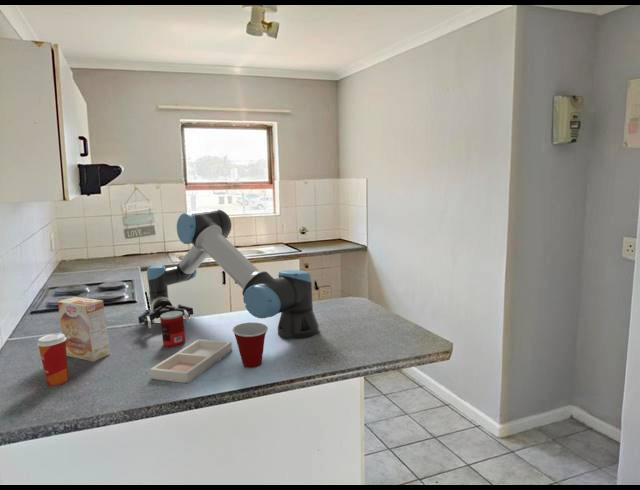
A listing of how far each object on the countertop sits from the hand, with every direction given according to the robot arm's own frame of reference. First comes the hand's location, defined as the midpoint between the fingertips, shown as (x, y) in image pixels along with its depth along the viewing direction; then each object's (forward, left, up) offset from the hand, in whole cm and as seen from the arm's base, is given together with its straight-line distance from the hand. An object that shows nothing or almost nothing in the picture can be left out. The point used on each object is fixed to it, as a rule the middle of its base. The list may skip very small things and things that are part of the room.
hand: (169, 321), depth 174 cm
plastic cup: (-43, +15, -7) cm, 46 cm away
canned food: (-6, +5, -7) cm, 10 cm away
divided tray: (-24, +19, -6) cm, 31 cm away
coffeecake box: (+18, +21, -7) cm, 29 cm away
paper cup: (+10, +40, -7) cm, 42 cm away
